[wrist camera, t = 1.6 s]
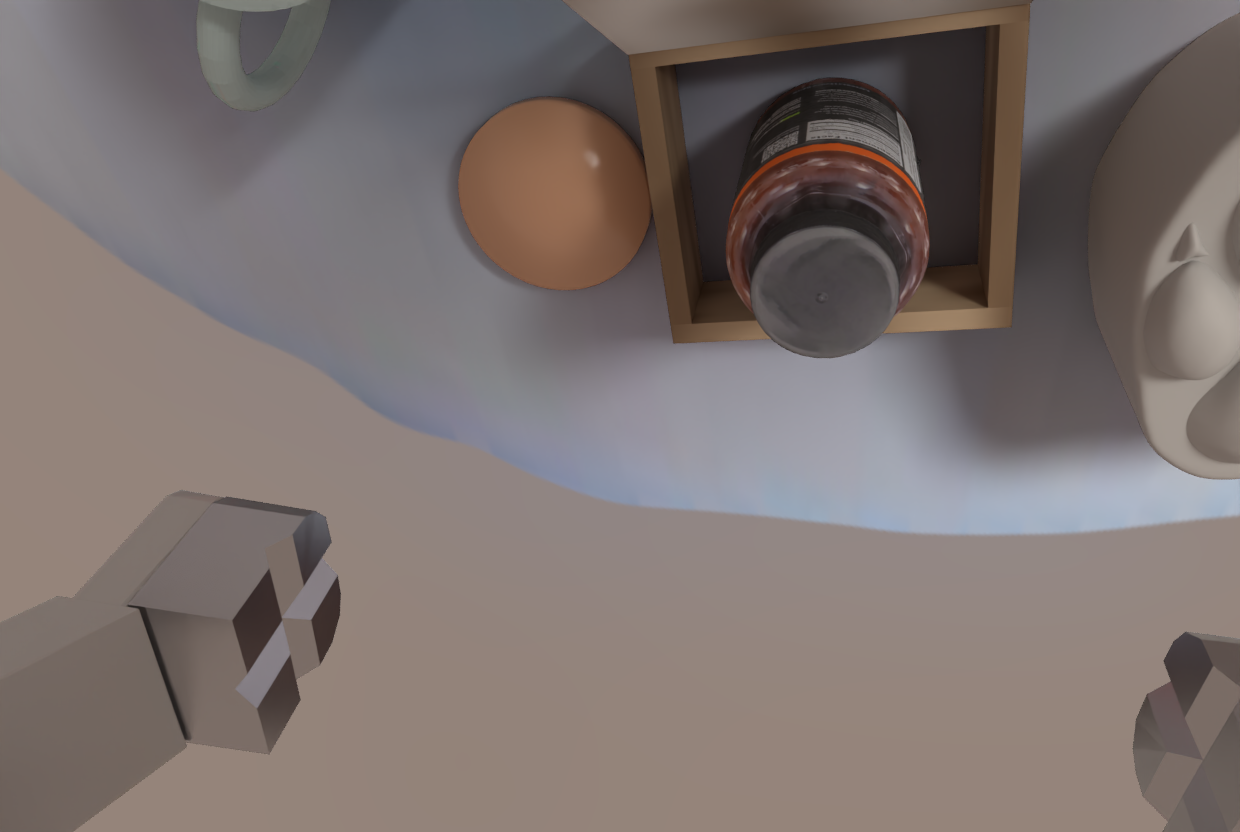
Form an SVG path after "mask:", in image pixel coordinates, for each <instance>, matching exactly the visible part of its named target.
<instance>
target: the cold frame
mask: <svg viewBox="0 0 1240 832" xmlns="http://www.w3.org/2000/svg"><path fill="white" fill-rule="evenodd" d="M562 1H563V2H564V3H566V4H567V5H568V6H569V7H570V8H572V9H573V10H574V11H575V12H576V13H578V14H579V15H580V16H581V17H582V18H584V19H585V20H586V21H587V22H588V23H590V24H591V25H592V26H593V27H594V28H596V29H597V30H598V31H599V32H601V33H602V34H603V35H604V36H605V37H607V38H608V39H609V40H610V41H611V42H613V43H614V44H615V45H616V46H617V47H619V48H620V49H621V50H622V51H623V52H625V53H626V54H627V55H629V62H630V68H631V74H632V81H633V87H634V94H635V100H636V106H637V113H638V119H639V126H640V132H641V138H642V145H643V151H644V158H645V164H646V170H647V177H648V183H649V190H650V196H651V202H652V209H653V215H654V221H655V228H656V234H657V241H658V247H659V253H660V260H661V266H662V273H663V279H664V285H665V292H666V298H667V305H668V311H669V317H670V324H671V330H672V337H673V343H695V342H715V341H736V340H757V339H771V338H770V337H769V336H768V335H767V334H766V333H765V332H764V331H763V330H762V328H761V326H760V325H759V324H758V322H757V320H756V318H755V316H754V314H753V313H752V312H751V311H750V310H749V309H748V308H747V306H746V305H745V304H744V303H743V301H742V300H741V298H740V297H739V295H738V293H737V291H736V290H735V288H734V286H733V283H732V281H731V280H725V281H710V282H703V274H702V266H701V259H700V251H699V244H698V236H697V229H696V221H695V213H694V206H693V198H692V191H691V183H690V176H689V168H688V160H687V153H686V145H685V138H684V130H683V123H682V115H681V107H680V100H679V92H678V85H677V77H676V70H675V64H681V63H689V62H697V61H706V60H714V59H722V58H730V57H738V56H746V55H754V54H762V53H770V52H779V51H787V50H795V49H803V48H811V47H819V46H827V45H835V44H843V43H852V42H860V41H868V40H876V39H884V38H892V37H900V36H908V35H916V34H925V33H933V32H941V31H949V30H957V29H965V28H973V27H981V26H986V43H985V71H984V99H983V127H982V155H981V183H980V211H979V239H978V264H974V265H959V266H943V267H928V268H926V271H925V274H924V277H923V279H922V281H921V283H920V285H919V287H918V289H917V291H916V292H915V294H914V295H913V296H912V298H911V299H910V301H909V302H908V303H907V304H906V305H905V306H904V308H903V309H902V310H901V311H900V312H899V313H898V314H897V315H896V316H894V317H893V318H892V320H891V322H890V324H889V325H888V327H887V328H886V329H885V331H884V332H883V333H902V332H923V331H944V330H964V329H985V328H1006V327H1011V326H1012V309H1013V292H1014V275H1015V258H1016V241H1017V224H1018V206H1019V189H1020V172H1021V155H1022V138H1023V121H1024V104H1025V87H1026V70H1027V53H1028V35H1029V18H1030V3H1032V1H1033V0H562Z"/></svg>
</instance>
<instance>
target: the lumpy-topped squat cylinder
mask: <svg viewBox="0 0 1240 832" xmlns="http://www.w3.org/2000/svg"><path fill="white" fill-rule="evenodd" d="M1088 268H1089V278H1090V283H1091V290H1092V299H1093V307H1094V313H1095V317H1096V321H1097V324H1098V327H1099V329H1100V332H1101V334H1102V336H1103V339H1104V341H1105V344H1106V346H1107V348H1108V351H1109V353H1110V356H1111V358H1112V360H1113V363H1114V365H1115V367H1116V370H1117V372H1118V375H1119V377H1120V379H1121V382H1122V384H1123V386H1124V389H1125V391H1126V394H1127V396H1128V398H1129V401H1130V403H1131V405H1132V408H1133V410H1134V412H1135V414H1136V416H1137V419H1138V422H1139V424H1140V427H1141V429H1142V431H1143V434H1144V435H1145V437H1146V439H1147V441H1148V443H1149V444H1150V446H1151V447H1152V448H1153V449H1154V451H1155V452H1156V453H1157V454H1158V455H1159V456H1161V457H1162V458H1163V459H1164V460H1166V461H1167V462H1169V463H1170V464H1171V465H1173V466H1175V467H1177V468H1178V469H1180V470H1182V471H1184V472H1186V473H1189V474H1191V475H1194V476H1197V477H1202V478H1208V479H1240V13H1238V14H1236V15H1234V16H1232V17H1230V18H1228V19H1226V20H1224V21H1222V22H1221V23H1219V24H1217V25H1216V26H1214V27H1213V28H1211V29H1210V30H1208V31H1207V32H1205V33H1204V34H1203V35H1201V36H1200V37H1199V38H1197V39H1196V40H1195V41H1193V42H1192V43H1191V44H1190V45H1188V46H1187V47H1186V48H1185V49H1184V50H1182V51H1181V52H1180V53H1179V54H1178V55H1177V56H1176V57H1175V58H1173V59H1172V60H1171V61H1170V62H1169V63H1168V64H1167V65H1166V66H1165V67H1164V68H1163V69H1162V70H1161V71H1160V72H1159V73H1158V74H1157V75H1156V76H1155V77H1154V78H1153V79H1152V80H1151V81H1150V83H1149V84H1148V85H1147V86H1146V88H1145V89H1144V90H1143V92H1142V93H1141V94H1140V96H1139V97H1138V99H1137V100H1136V101H1135V103H1134V104H1133V106H1132V107H1131V109H1130V110H1129V112H1128V114H1127V115H1126V117H1125V118H1124V120H1123V121H1122V123H1121V125H1120V126H1119V128H1118V130H1117V131H1116V133H1115V135H1114V137H1113V138H1112V140H1111V142H1110V144H1109V145H1108V147H1107V149H1106V151H1105V153H1104V155H1103V156H1102V158H1101V160H1100V162H1099V164H1098V167H1097V169H1096V171H1095V174H1094V178H1093V182H1092V188H1091V195H1090V205H1089V219H1088Z"/></svg>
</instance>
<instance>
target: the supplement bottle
mask: <svg viewBox="0 0 1240 832" xmlns="http://www.w3.org/2000/svg"><path fill="white" fill-rule="evenodd" d="M917 161H918V157H917V156H916V148H915V144H914V141H913V138H912V135H911V132H910V129H909V127H908V124H907V122H906V120H905V118H904V116H903V115H902V113H901V111H900V110H899V109H898V108H897V106H896V105H895V103H894V102H892V101H891V99H890V98H888V97H887V96H886V95H885V94H884V93H882V92H881V91H879V90H878V89H876V88H874V87H872V86H870V85H868V84H865V83H862V82H859V81H856V80H852V79H844V78H822V79H816V80H813V81H811V82H808V83H804V84H801V85H799V86H797V87H794V88H793V89H791V90H790V91H788V92H786V93H785V94H783V95H782V96H780V97H779V98H778V99H777V100H776V101H775V102H774V103H773V104H772V105H770V106H769V107H768V108H767V110H766V111H765V112H764V114H763V115H762V116H761V118H760V119H759V120H758V122H757V124H756V127H755V129H754V130H753V132H752V134H751V137H750V140H749V143H748V146H747V150H746V154H745V158H744V161H743V166H742V170H741V174H740V178H739V182H738V186H737V190H736V193H735V198H734V202H733V206H732V210H731V215H730V219H729V223H728V231H727V237H726V262H727V267H728V271H729V275H730V279H731V281H732V283H733V286H734V288H735V290H736V291H737V293H738V295H739V297H740V298H741V300H742V301H743V303H744V304H745V305H746V306H747V308H748V309H749V310H750V311H751V312H752V313H753V314H754V316H755V318H756V320H757V322H758V324H759V325H760V326H761V328H762V330H763V331H764V332H765V333H766V334H767V335H768V336H769V337H770V338H771V339H772V340H773V341H774V342H776V343H777V344H779V345H780V346H781V347H783V348H785V349H787V350H789V351H792V352H793V353H797V354H800V355H803V356H808V357H814V358H835V357H841V356H844V355H847V354H851V353H854V352H856V351H858V350H860V349H862V348H864V347H866V346H867V345H869V344H871V343H872V342H873V341H874V340H876V339H877V338H878V337H879V336H880V335H881V334H882V333H883V332H884V331H885V329H886V328H887V327H888V325H889V324H890V322H891V320H892V318H893V317H894V316H896V315H897V314H898V313H899V312H900V311H901V310H902V309H903V308H904V306H905V305H906V304H907V303H908V302H909V301H910V299H911V298H912V296H913V295H914V294H915V292H916V291H917V289H918V287H919V285H920V283H921V281H922V279H923V277H924V274H925V271H926V268H927V264H928V258H929V249H930V240H929V226H928V222H927V212H926V206H925V203H924V196H923V194H924V193H923V188H922V182H921V177H920V172H919V165H920V163H921V160H919V162H917Z"/></svg>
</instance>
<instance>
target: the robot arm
mask: <svg viewBox="0 0 1240 832" xmlns="http://www.w3.org/2000/svg"><path fill="white" fill-rule="evenodd" d="M330 544H331V537H330V533H329V529H328V524H327V521H326V517H325V516H323V515H321V514H320V513H318V512H316V511H311V510H305V509H299V508H293V507H287V506H281V505H275V504H269V503H263V502H256V501H250V500H244V499H238V498H232V497H225V498H224V497H219V496H212V495H206V494H201V493H195V492H189V491H183V490H180V491H178V492H175V493H172V494H170V495H167V496H166V497H165V498H164V499H163V500H162V501H161V502H160V503H159V504H158V505H157V506H156V507H155V509H154V510H153V511H152V512H151V513H150V514H149V515H148V516H147V517H146V518H145V519H144V520H143V522H142V523H141V524H140V525H139V526H138V527H137V528H136V529H135V530H134V532H133V533H132V534H131V535H130V536H129V537H128V538H127V539H126V540H125V541H124V542H123V543H122V544H121V545H120V547H119V548H118V549H117V550H116V551H115V552H114V553H113V554H112V555H111V556H110V557H109V559H108V560H107V561H106V562H105V563H104V564H103V565H102V566H101V567H100V568H99V569H98V571H97V572H96V573H95V574H94V575H93V576H92V577H91V578H90V579H89V580H88V581H87V583H86V584H85V585H84V586H83V587H82V588H81V589H80V590H79V591H78V592H77V594H75V596H74V597H73V598H68V597H60V596H57V597H55V598H52V599H50V600H48V601H46V602H44V603H42V604H39V605H37V606H35V607H33V608H31V609H29V610H26V611H24V612H22V613H20V614H18V615H16V616H13V617H11V618H9V619H7V620H5V621H2V622H0V832H73V831H75V830H76V829H77V828H79V827H80V826H81V825H83V824H84V823H85V822H87V821H88V820H89V819H91V818H92V817H94V816H95V815H96V814H98V813H99V812H100V811H102V810H103V809H104V808H106V807H107V806H108V805H110V804H111V803H112V802H113V801H115V800H116V799H118V798H119V797H121V796H122V795H123V794H125V793H126V792H127V791H129V790H130V789H131V788H133V787H134V786H135V785H137V784H138V783H139V782H141V781H142V780H143V779H145V778H146V777H148V776H149V775H150V774H151V773H153V772H154V771H155V770H157V769H158V768H160V767H161V766H162V765H164V764H165V763H166V762H168V761H169V760H170V759H172V758H173V757H175V756H176V755H177V754H178V753H180V752H181V751H183V750H184V749H185V748H186V747H187V745H186V742H187V743H194V744H202V745H208V746H215V747H222V748H229V749H236V750H243V751H249V752H256V753H264V754H270V752H271V751H272V749H273V747H274V745H275V744H276V742H277V740H278V738H279V737H280V735H281V733H282V731H283V730H284V728H285V726H286V724H287V723H288V721H289V719H290V717H291V715H292V714H293V712H294V710H295V709H296V707H297V705H298V703H299V702H300V695H299V691H298V687H297V682H296V679H298V678H300V677H301V676H303V675H304V674H306V673H308V672H309V671H311V670H313V669H314V668H316V667H318V666H319V665H320V664H321V662H322V661H323V659H324V657H325V655H326V653H327V651H328V650H329V647H330V646H331V644H332V642H333V638H334V634H335V631H336V627H337V623H338V620H339V616H340V600H341V592H340V586H339V580H338V575H337V574H336V573H335V572H334V571H333V570H332V568H330V566H329V565H328V564H327V563H326V562H325V561H324V560H323V559H322V557H323V555H324V554H325V552H326V550H327V549H328V547H329V546H330ZM1164 664H1165V666H1166V669H1167V672H1168V675H1169V677H1170V680H1171V682H1169V683H1167V684H1165V685H1163V686H1161V687H1160V688H1158V689H1156V690H1154V691H1152V692H1150V693H1148V694H1147V695H1146V698H1145V700H1144V702H1143V705H1142V707H1141V709H1140V711H1139V714H1138V716H1137V718H1136V724H1135V734H1134V742H1133V754H1134V762H1135V770H1136V775H1137V778H1138V782H1139V785H1140V788H1141V792H1142V795H1143V797H1144V798H1145V799H1146V800H1147V801H1148V802H1149V803H1150V804H1151V805H1152V806H1153V807H1154V808H1155V809H1156V810H1157V811H1158V812H1159V813H1160V814H1161V815H1162V816H1163V817H1164V818H1165V819H1166V820H1167V821H1168V823H1167V824H1166V826H1165V828H1164V830H1163V832H1240V639H1238V638H1231V637H1222V636H1216V635H1208V634H1200V633H1192V632H1185V633H1183V634H1182V635H1181V636H1180V637H1179V638H1177V639H1176V640H1175V641H1174V642H1173V644H1172V645H1171V647H1170V649H1169V651H1168V653H1167V655H1166V657H1165V659H1164Z"/></svg>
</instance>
